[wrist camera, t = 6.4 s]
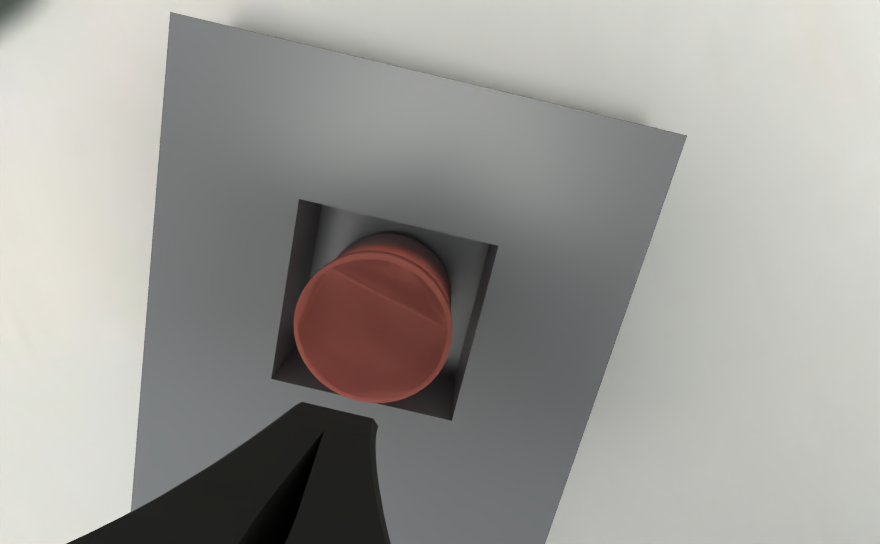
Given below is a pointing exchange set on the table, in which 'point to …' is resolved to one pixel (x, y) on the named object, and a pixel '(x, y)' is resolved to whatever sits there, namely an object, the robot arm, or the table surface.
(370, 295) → the red button
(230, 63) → the console
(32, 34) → the table surface
